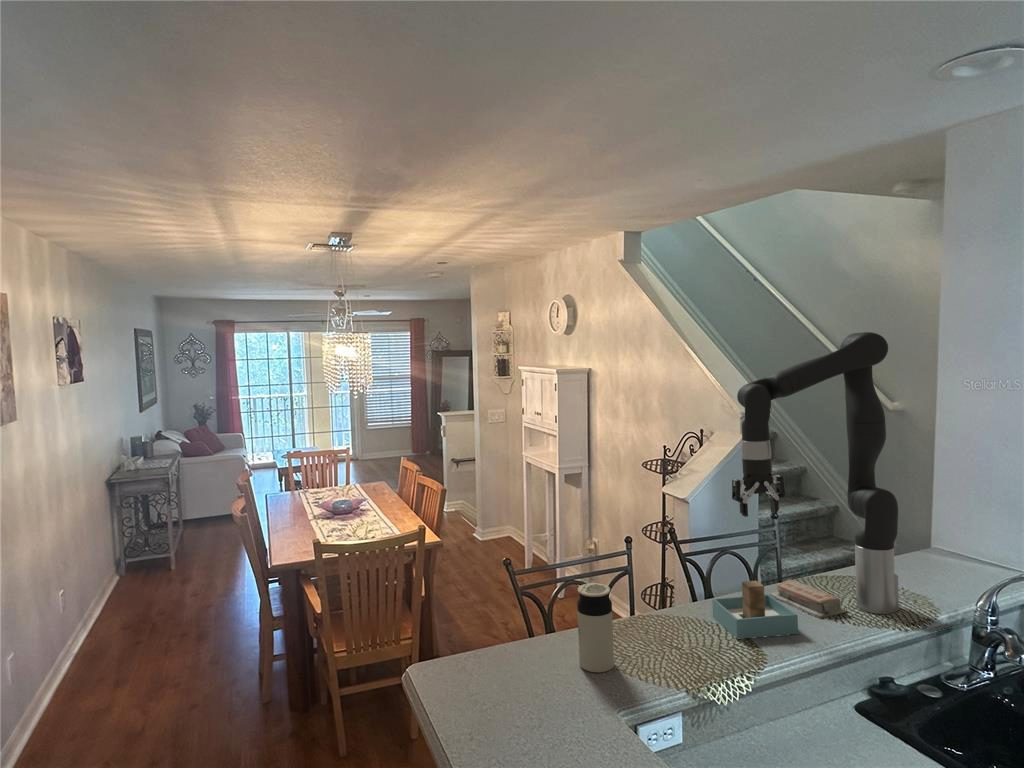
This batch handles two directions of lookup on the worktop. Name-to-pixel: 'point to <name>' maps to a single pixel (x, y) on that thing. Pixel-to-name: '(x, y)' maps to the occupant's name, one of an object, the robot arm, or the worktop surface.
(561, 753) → the worktop surface
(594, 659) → the travel mug
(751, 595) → the brown wooden block
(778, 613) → the walled box
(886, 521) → the robot arm
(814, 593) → the packaged product
